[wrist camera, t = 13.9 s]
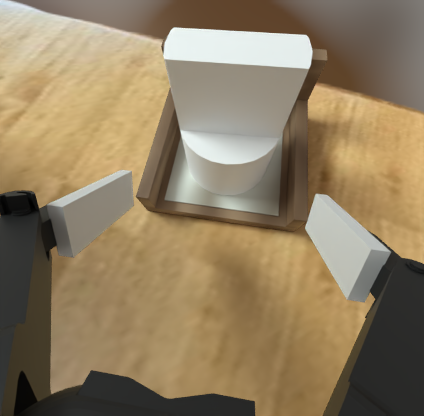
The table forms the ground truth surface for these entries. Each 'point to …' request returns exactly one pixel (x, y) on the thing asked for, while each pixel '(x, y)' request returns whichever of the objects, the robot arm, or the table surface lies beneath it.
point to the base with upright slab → (233, 100)
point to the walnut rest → (245, 202)
